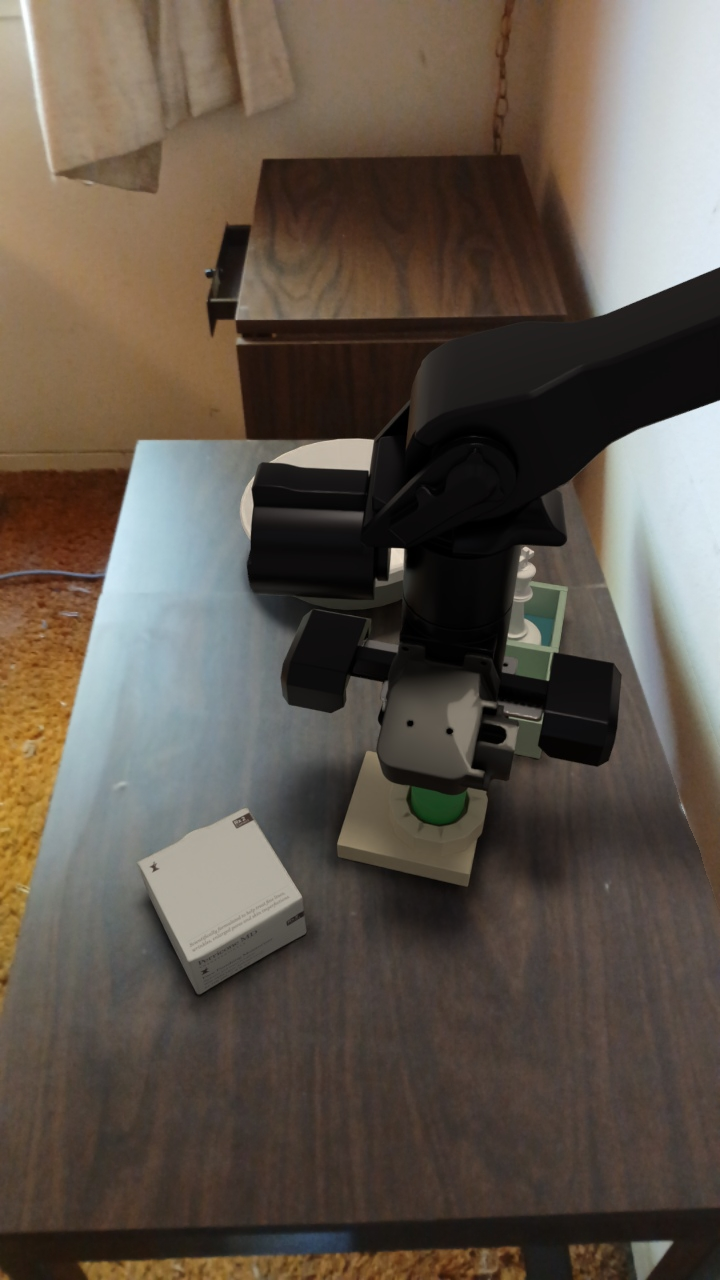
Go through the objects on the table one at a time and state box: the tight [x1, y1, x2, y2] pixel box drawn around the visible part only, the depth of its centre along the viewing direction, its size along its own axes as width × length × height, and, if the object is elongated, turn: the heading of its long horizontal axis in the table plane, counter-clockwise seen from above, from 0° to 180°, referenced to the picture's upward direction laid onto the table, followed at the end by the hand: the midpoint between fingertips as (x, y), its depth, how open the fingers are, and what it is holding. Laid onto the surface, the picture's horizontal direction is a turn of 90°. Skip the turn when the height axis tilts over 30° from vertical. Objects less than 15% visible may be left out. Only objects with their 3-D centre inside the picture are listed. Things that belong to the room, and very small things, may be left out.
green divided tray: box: [505, 580, 569, 760], centre depth 70 cm, size 15×8×4 cm, turn 165°
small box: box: [136, 807, 308, 995], centre depth 56 cm, size 8×8×5 cm
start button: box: [411, 786, 466, 825], centre depth 59 cm, size 4×4×2 cm
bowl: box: [239, 438, 404, 611], centre depth 77 cm, size 19×19×8 cm
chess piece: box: [507, 545, 541, 645], centre depth 70 cm, size 5×5×10 cm
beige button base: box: [336, 750, 489, 888], centre depth 61 cm, size 9×8×4 cm
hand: (441, 767), depth 57 cm, fingers closed
